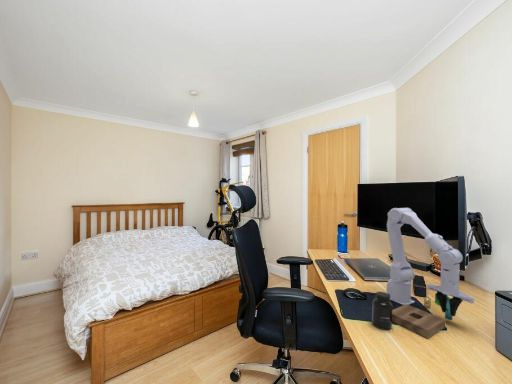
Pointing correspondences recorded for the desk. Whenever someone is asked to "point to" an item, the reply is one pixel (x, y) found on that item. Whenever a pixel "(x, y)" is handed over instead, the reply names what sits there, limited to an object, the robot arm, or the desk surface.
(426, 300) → the short pin
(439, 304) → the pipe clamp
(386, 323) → the supplement bottle
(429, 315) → the bored board
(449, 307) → the long pin
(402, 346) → the desk surface
